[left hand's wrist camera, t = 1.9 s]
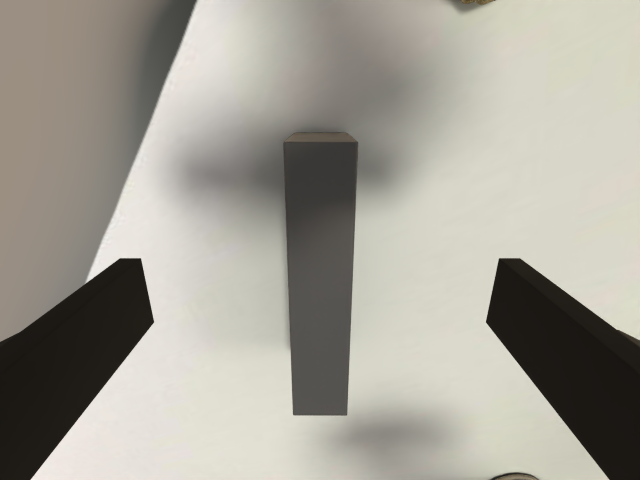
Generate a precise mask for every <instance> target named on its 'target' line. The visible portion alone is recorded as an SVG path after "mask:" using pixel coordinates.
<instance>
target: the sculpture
mask: <svg viewBox="0 0 640 480" xmlns="http://www.w3.org/2000/svg"><path fill="white" fill-rule="evenodd" d="M461 1H462V2H463V3H464V4H468V3H472V2H476V3H477V4H479V5H483V4H486V3H489V2H492V1H495V0H461Z"/></svg>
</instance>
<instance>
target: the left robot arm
mask: <svg viewBox="0 0 640 480" xmlns="http://www.w3.org/2000/svg"><path fill="white" fill-rule="evenodd" d="M153 323H154V320H153V315H152V310H151V305H150V300H149V295H148V291H147V286H146V281H145V276H144V271H143V266H142V261H141V258H120V259H119V260H117V261H116V262H115V263H113V264H112V265H110V266H109V267H108V268H106V269H105V270H104V271H102V272H101V273H100V274H98V275H97V276H96V277H94V278H93V279H91V280H90V281H89V282H87V283H86V284H85V285H83V286H82V287H81V288H79V289H78V290H77V291H75V292H74V293H73V294H71V295H70V296H68V297H67V298H66V299H64V300H63V301H62V302H60V303H59V304H58V305H56V306H55V307H54V308H52V309H51V310H50V311H48V312H47V313H45V314H44V315H43V316H41V317H40V318H39V319H37V320H36V321H35V322H33V323H32V324H31V325H29V326H28V327H26V328H25V329H24V330H22V331H21V332H19V333H17V334H15V335H13V336H11V337H9V338H7V339H5V340H3V341H1V342H0V480H31V478H32V477H33V476H34V474H35V473H36V472H37V471H38V469H39V468H40V467H41V466H42V464H43V463H44V462H45V460H46V459H47V458H48V457H49V455H50V454H51V453H52V452H53V450H54V449H55V448H56V446H57V445H58V444H59V443H60V441H61V440H62V439H63V438H64V436H65V435H66V434H67V432H68V431H69V430H70V429H71V427H72V426H73V425H74V424H75V422H76V421H77V420H78V418H79V417H80V416H81V415H82V413H83V412H84V411H85V410H86V408H87V407H88V406H89V404H90V403H91V402H92V401H93V399H94V398H95V397H96V396H97V394H98V393H99V392H100V390H101V389H102V388H103V387H104V385H105V384H106V383H107V382H108V380H109V379H110V378H111V376H112V375H113V374H114V373H115V371H116V370H117V369H118V367H119V366H120V365H121V364H122V362H123V361H124V360H125V359H126V357H127V356H128V355H129V353H130V352H131V351H132V350H133V348H134V347H135V346H136V345H137V343H138V342H139V341H140V339H141V338H142V337H143V336H144V334H145V333H146V332H147V331H148V329H149V328H150V327H151V325H152V324H153ZM486 323H487V324H488V325H489V327H490V328H491V329H492V331H493V332H494V333H495V334H496V336H497V337H498V338H499V339H500V341H501V342H502V343H503V345H504V346H505V347H506V348H507V350H508V351H509V352H510V353H511V355H512V356H513V357H514V359H515V360H516V361H517V362H518V364H519V365H520V366H521V368H522V369H523V370H524V371H525V373H526V374H527V375H528V376H529V378H530V379H531V380H532V382H533V383H534V384H535V385H536V387H537V388H538V389H539V390H540V392H541V393H542V394H543V396H544V397H545V398H546V399H547V401H548V402H549V403H550V404H551V406H552V407H553V408H554V410H555V411H556V412H557V413H558V415H559V416H560V417H561V418H562V420H563V421H564V422H565V424H566V425H567V426H568V427H569V429H570V430H571V431H572V432H573V434H574V435H575V436H576V438H577V439H578V440H579V441H580V443H581V444H582V445H583V446H584V448H585V449H586V450H587V452H588V453H589V454H590V455H591V457H592V458H593V459H594V460H595V462H596V463H597V464H598V466H599V467H600V468H601V469H602V471H603V472H604V473H605V474H606V476H607V477H608V478H609V480H640V340H638V339H636V338H634V337H632V336H630V335H628V334H626V333H624V332H622V331H620V330H616V329H615V328H614V327H612V326H611V325H609V324H608V323H607V322H605V321H604V320H603V319H601V318H600V317H599V316H597V315H596V314H595V313H593V312H592V311H591V310H589V309H588V308H586V307H585V306H584V305H582V304H581V303H580V302H578V301H577V300H576V299H574V298H573V297H572V296H570V295H569V294H567V293H566V292H565V291H563V290H562V289H561V288H559V287H558V286H557V285H555V284H554V283H553V282H551V281H550V280H549V279H547V278H546V277H544V276H543V275H542V274H540V273H539V272H538V271H536V270H535V269H534V268H532V267H531V266H530V265H528V264H527V263H525V262H524V261H523V260H521V259H520V258H499V261H498V266H497V271H496V276H495V281H494V286H493V291H492V295H491V300H490V305H489V310H488V315H487V320H486Z"/></svg>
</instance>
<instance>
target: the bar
mask: <svg viewBox="0 0 640 480" xmlns="http://www.w3.org/2000/svg"><path fill="white" fill-rule="evenodd" d="M283 144H284V172H285V201H286V229H287V257H288V286H289V314H290V342H291V371H292V399H293V415H347V404H348V379H349V355H350V330H351V305H352V281H353V256H354V231H355V206H356V182H357V157H358V142H357V141H356V140H355V139H353V138H352V137H351V136H350V135H349V134H348V133H294V134H293V135H291V136H290V137H289V138H288V139H287V140H286V141H284V143H283Z"/></svg>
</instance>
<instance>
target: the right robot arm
mask: <svg viewBox="0 0 640 480" xmlns="http://www.w3.org/2000/svg"><path fill="white" fill-rule="evenodd" d="M495 480H538V479H536V478H534V477H532V476H528V475H522V474H514V475H507V476H503V477H500V478H497V479H495Z"/></svg>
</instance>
